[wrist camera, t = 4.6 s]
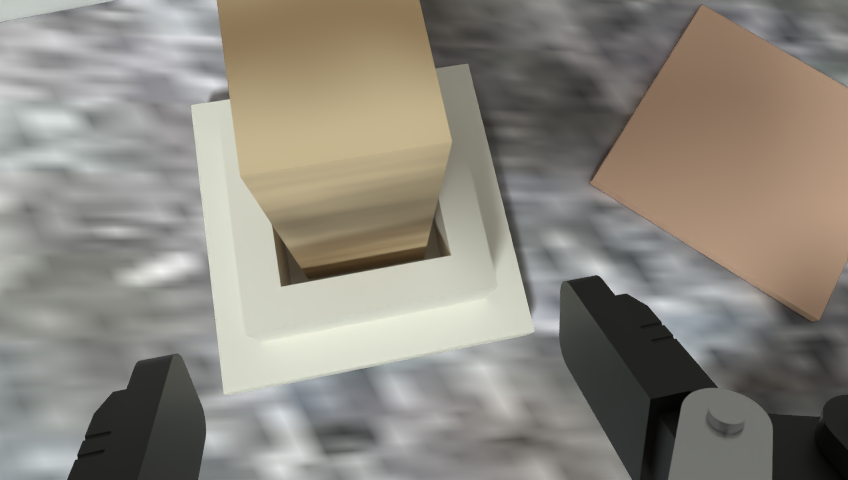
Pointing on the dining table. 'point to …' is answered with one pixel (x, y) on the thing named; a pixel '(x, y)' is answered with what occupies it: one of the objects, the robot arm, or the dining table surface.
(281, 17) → the oak bar
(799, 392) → the dining table surface
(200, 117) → the socket stand
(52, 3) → the milk carton
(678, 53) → the terracotta mat
